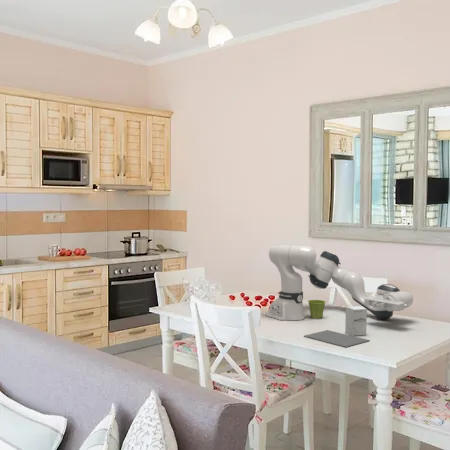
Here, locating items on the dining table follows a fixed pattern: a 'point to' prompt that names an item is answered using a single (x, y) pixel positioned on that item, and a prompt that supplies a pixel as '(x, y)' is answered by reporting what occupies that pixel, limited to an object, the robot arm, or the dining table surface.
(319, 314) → the plant pot
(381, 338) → the dining table surface
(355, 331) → the supplement box
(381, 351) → the dining table surface
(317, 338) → the mat
